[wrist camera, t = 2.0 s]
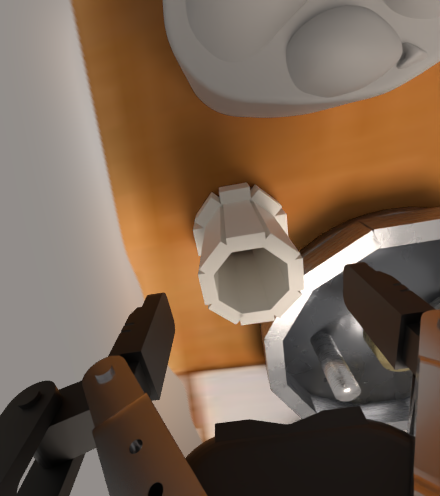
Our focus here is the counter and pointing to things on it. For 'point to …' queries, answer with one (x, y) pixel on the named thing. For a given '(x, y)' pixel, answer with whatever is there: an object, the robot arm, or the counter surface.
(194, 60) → the paw print stamp
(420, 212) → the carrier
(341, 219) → the counter surface
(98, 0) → the counter surface
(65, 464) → the robot arm
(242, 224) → the flanged octagonal tube
